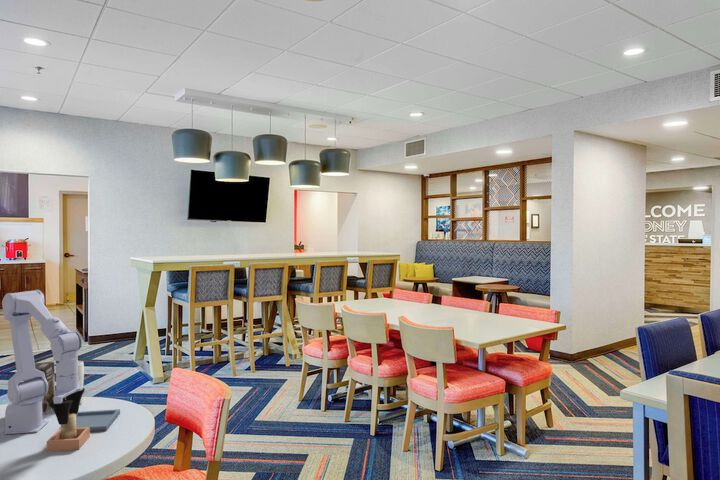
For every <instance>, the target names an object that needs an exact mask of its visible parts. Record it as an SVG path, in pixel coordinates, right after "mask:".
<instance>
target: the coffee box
mask: <svg viewBox="0 0 720 480" xmlns="http://www.w3.org/2000/svg"><path fill="white" fill-rule="evenodd" d="M35 368H36V369H37V370H39V371H42V372H44V374H45V378H46V380H47V382H48V392H47V394H46V395H44V399H42V416H45V415H46V414H47V413H49V412H50V411H51V410H53V409H52V408H51V407H50V402H51V401H52V400H54V398H53V397H54V396H55V392H56V373H55V362H54V361H46V362H45V361H44V362H35ZM31 379H35V378H31ZM31 379H27V380H31ZM27 380H23V382H24V381H27Z"/></svg>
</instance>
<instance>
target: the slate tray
mask: <svg viewBox="0 0 720 480" xmlns="http://www.w3.org/2000/svg"><path fill="white" fill-rule="evenodd" d="M120 414H121V409H119V408H117V409H102V410H87V411H86V410H85V411H83V410H82V411H78V413H77V414H76V428H83V427H90V433H92V432H93V433H94V432H106V431H108V430H109V428H111V426H112V425H113V423H114V422H115V420H116V419H117V418H118V417H119V416H120ZM118 415H119V416H118ZM59 429H61V426H60V427H59ZM59 429H58V430H59Z"/></svg>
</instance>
